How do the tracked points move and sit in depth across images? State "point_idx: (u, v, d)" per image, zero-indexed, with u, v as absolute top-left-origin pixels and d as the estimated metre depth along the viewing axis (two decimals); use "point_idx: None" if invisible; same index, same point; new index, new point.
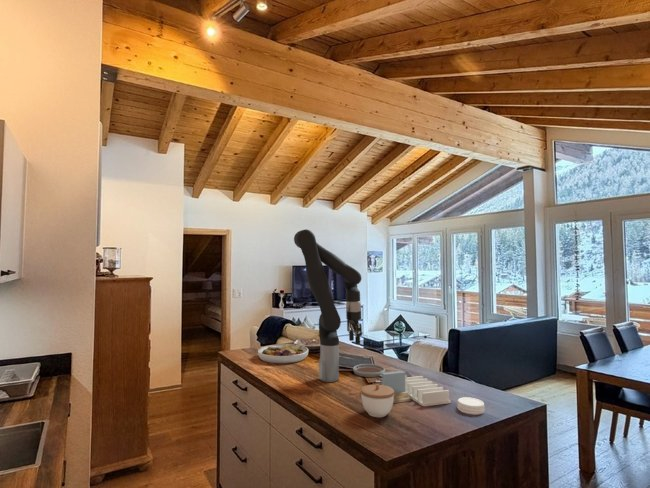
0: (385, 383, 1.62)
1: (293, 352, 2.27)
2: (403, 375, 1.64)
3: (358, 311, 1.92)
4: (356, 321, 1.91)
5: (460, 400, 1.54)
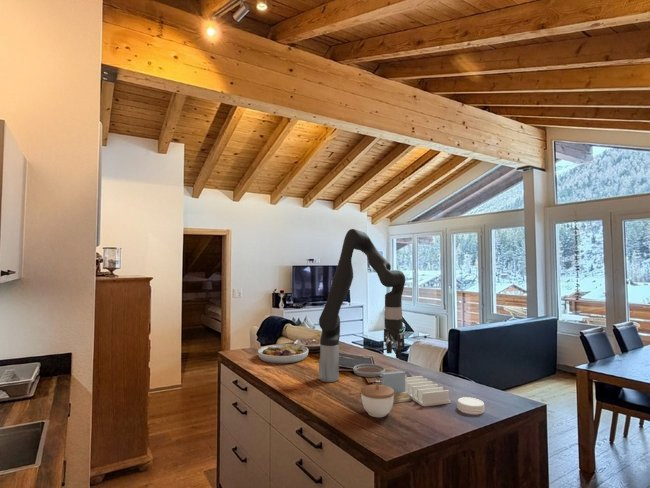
0: (385, 383, 1.62)
1: (293, 352, 2.27)
2: (403, 375, 1.64)
3: (399, 319, 1.62)
4: (397, 330, 1.61)
5: (460, 400, 1.54)
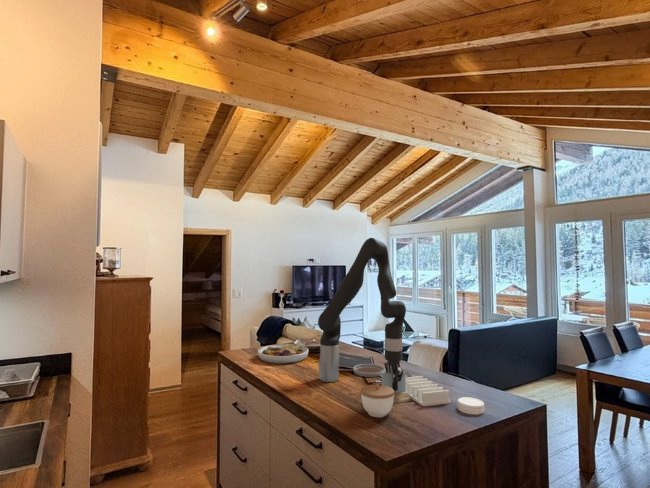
0: (385, 383, 1.62)
1: (293, 352, 2.27)
2: (403, 375, 1.64)
3: (399, 350, 1.62)
4: (397, 362, 1.61)
5: (460, 400, 1.54)
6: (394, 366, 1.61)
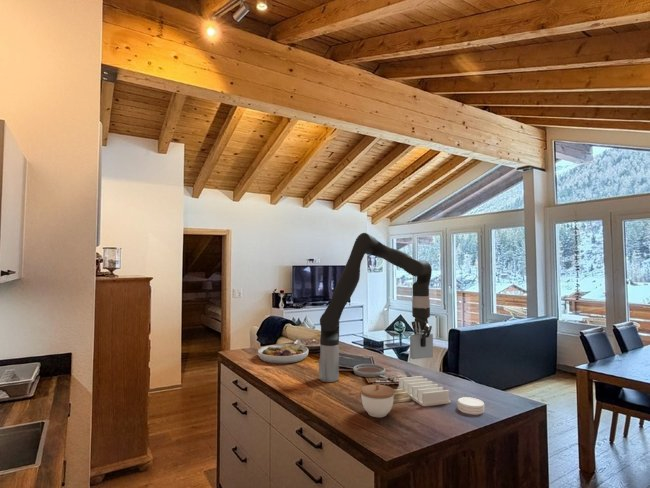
0: (414, 344, 1.66)
1: (293, 352, 2.27)
2: (431, 337, 1.69)
3: (427, 307, 1.66)
4: (425, 319, 1.65)
5: (460, 400, 1.54)
6: (422, 323, 1.66)
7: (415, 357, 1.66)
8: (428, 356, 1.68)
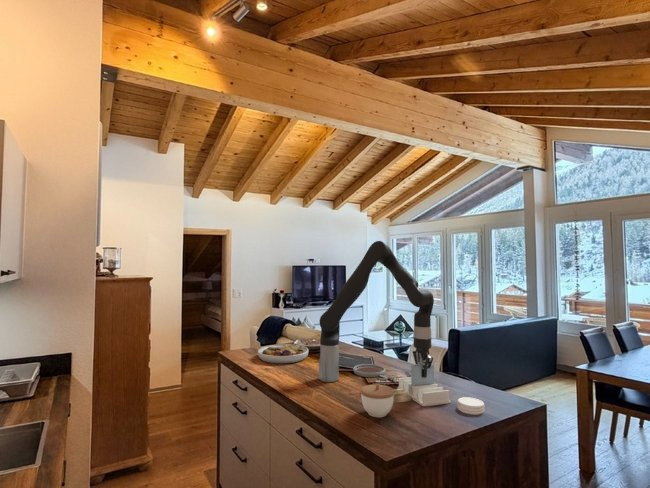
0: (415, 375, 1.66)
1: (293, 352, 2.27)
2: (432, 367, 1.69)
3: (429, 338, 1.66)
4: (426, 350, 1.65)
5: (460, 400, 1.54)
6: (424, 353, 1.66)
7: None
8: None
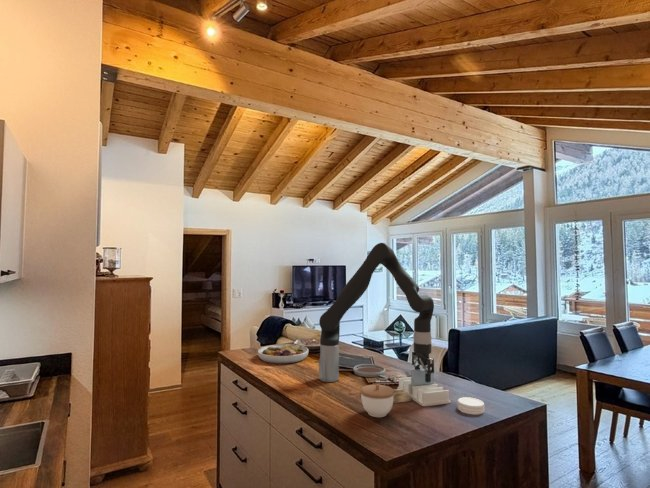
0: (415, 380, 1.66)
1: (293, 352, 2.27)
2: None
3: (429, 343, 1.66)
4: (426, 355, 1.65)
5: (460, 400, 1.54)
6: (424, 359, 1.65)
7: None
8: None
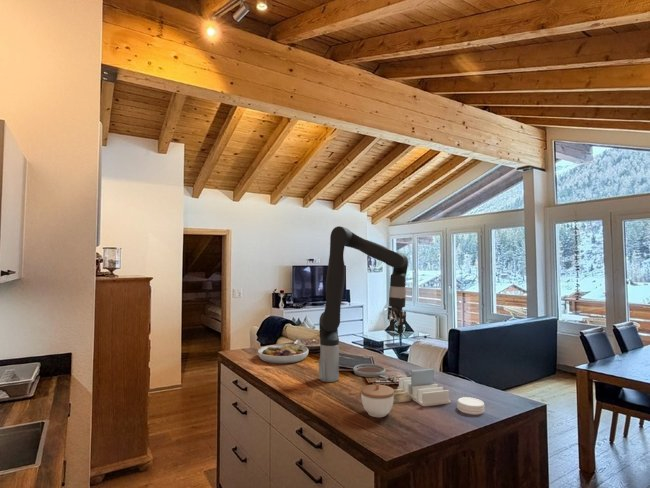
0: (415, 380, 1.66)
1: (293, 352, 2.27)
2: (432, 372, 1.69)
3: (403, 297, 1.75)
4: (400, 308, 1.74)
5: (460, 400, 1.54)
6: (397, 312, 1.75)
7: None
8: None
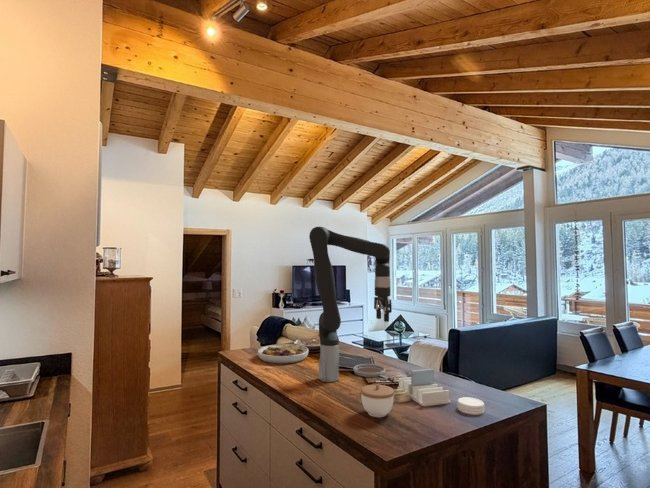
0: (415, 380, 1.66)
1: (293, 352, 2.27)
2: (432, 372, 1.69)
3: (388, 287, 1.82)
4: (385, 297, 1.81)
5: (460, 400, 1.54)
6: (383, 301, 1.81)
7: None
8: None
